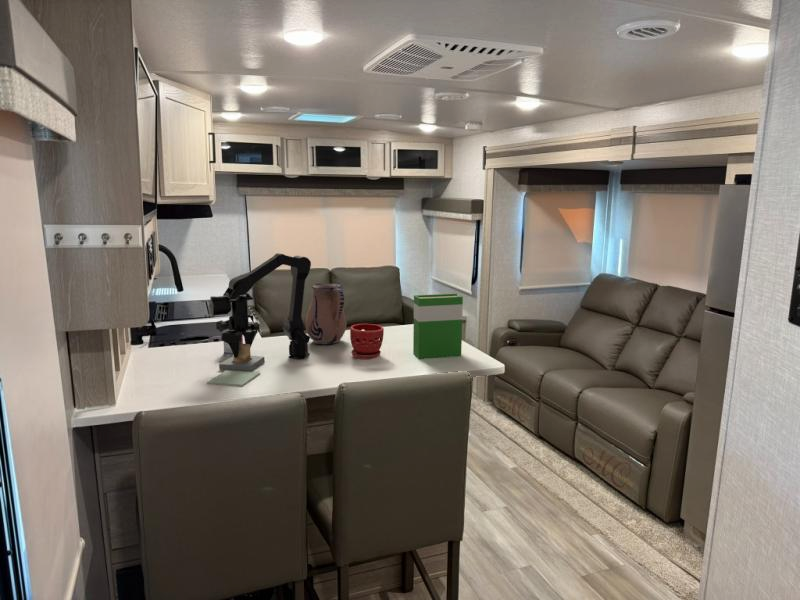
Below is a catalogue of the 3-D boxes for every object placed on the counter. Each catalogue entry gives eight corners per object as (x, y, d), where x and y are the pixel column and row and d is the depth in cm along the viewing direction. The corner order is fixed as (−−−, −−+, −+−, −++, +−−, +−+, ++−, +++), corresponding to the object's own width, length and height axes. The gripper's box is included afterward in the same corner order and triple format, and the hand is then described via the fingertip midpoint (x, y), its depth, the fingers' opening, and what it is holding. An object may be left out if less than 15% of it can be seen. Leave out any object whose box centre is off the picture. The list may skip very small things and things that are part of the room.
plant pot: (363, 363, 206) (363, 332, 204) (344, 355, 216) (343, 326, 214) (390, 356, 215) (390, 327, 212) (370, 349, 224) (370, 321, 222)
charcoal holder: (264, 362, 207) (264, 356, 206) (250, 372, 195) (249, 366, 195) (235, 360, 209) (235, 354, 209) (219, 369, 198) (219, 364, 197)
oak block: (251, 364, 204) (249, 344, 202) (245, 368, 200) (244, 347, 198) (239, 363, 205) (238, 343, 203) (234, 367, 201) (232, 346, 199)
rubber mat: (259, 374, 193) (259, 372, 193) (242, 386, 180) (242, 384, 180) (226, 371, 196) (226, 370, 195) (206, 383, 183) (206, 382, 183)
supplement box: (237, 354, 217) (235, 326, 214) (223, 353, 218) (221, 326, 216) (244, 350, 222) (242, 323, 220) (230, 349, 223) (229, 322, 221)
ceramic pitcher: (327, 334, 248) (326, 280, 243) (361, 342, 235) (360, 285, 230) (297, 342, 235) (295, 285, 230) (331, 351, 222) (330, 290, 217)
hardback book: (454, 351, 223) (456, 293, 218) (461, 356, 216) (462, 296, 211) (413, 354, 218) (413, 295, 214) (418, 359, 211) (419, 298, 207)
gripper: (232, 306, 209) (234, 345, 212) (206, 317, 191) (208, 359, 194) (259, 307, 207) (261, 347, 210) (235, 318, 189) (237, 361, 192)
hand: (242, 353), depth 201 cm, fingers open, 9 cm apart
